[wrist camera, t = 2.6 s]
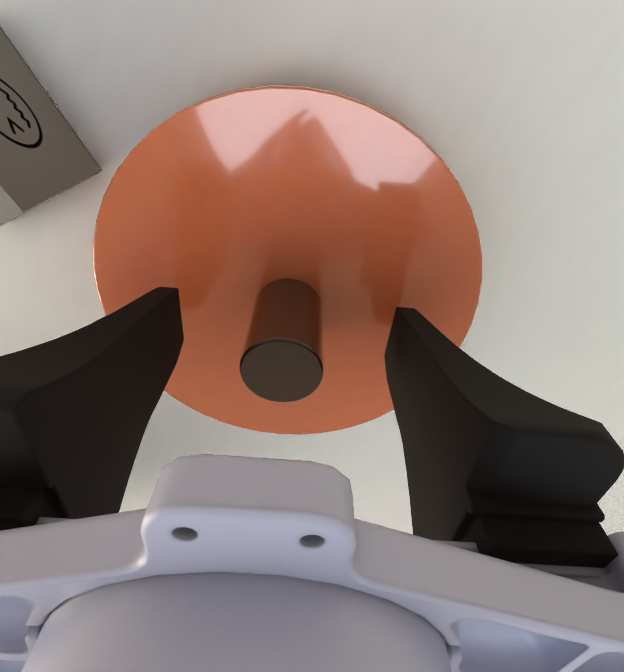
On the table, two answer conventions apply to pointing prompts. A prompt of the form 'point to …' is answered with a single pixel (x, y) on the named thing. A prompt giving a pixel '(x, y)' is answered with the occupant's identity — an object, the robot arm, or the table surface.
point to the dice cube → (33, 141)
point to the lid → (288, 251)
